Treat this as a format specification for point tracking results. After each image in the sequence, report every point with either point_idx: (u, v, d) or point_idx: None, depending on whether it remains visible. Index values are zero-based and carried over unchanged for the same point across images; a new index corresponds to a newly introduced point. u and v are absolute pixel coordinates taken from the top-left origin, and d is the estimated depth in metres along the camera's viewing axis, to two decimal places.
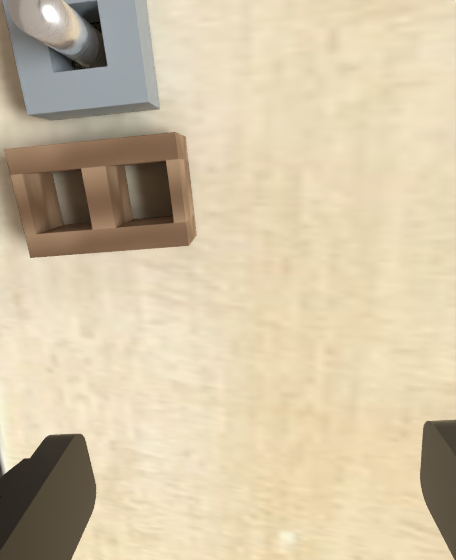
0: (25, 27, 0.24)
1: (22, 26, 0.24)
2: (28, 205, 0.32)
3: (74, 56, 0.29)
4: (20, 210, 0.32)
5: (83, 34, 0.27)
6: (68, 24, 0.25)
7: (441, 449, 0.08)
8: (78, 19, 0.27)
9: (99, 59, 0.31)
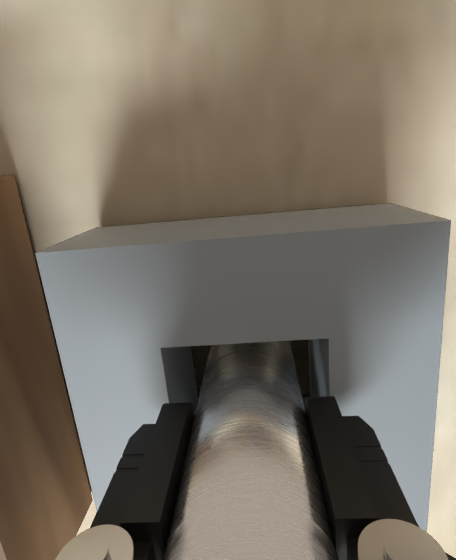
0: None
1: None
2: None
3: None
4: None
5: None
6: None
7: (309, 420, 0.09)
8: None
9: None
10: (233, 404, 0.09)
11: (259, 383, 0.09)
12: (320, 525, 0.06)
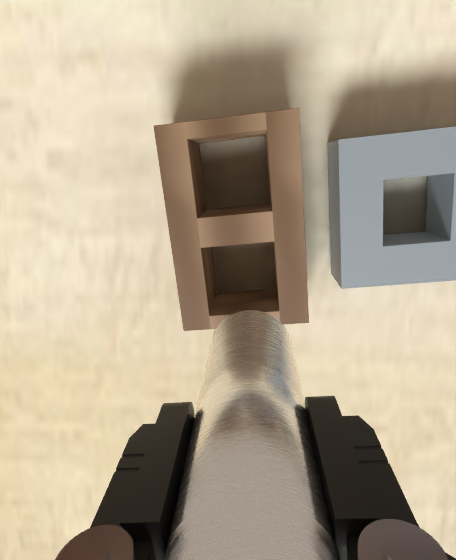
0: None
1: None
2: (224, 132, 0.24)
3: None
4: (218, 120, 0.24)
5: None
6: None
7: (309, 420, 0.09)
8: None
9: None
10: (234, 402, 0.09)
11: (260, 381, 0.09)
12: (321, 523, 0.06)
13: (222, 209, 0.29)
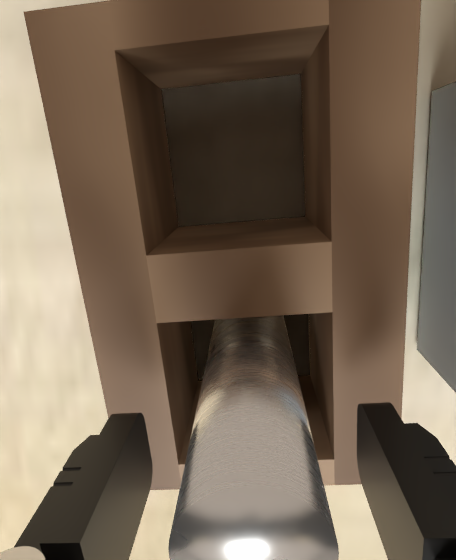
0: (189, 528, 0.07)
1: (193, 518, 0.07)
2: (215, 32, 0.09)
3: None
4: None
5: None
6: None
7: (367, 428, 0.09)
8: None
9: None
10: (236, 359, 0.11)
11: (258, 345, 0.11)
12: (305, 439, 0.08)
13: (209, 227, 0.14)
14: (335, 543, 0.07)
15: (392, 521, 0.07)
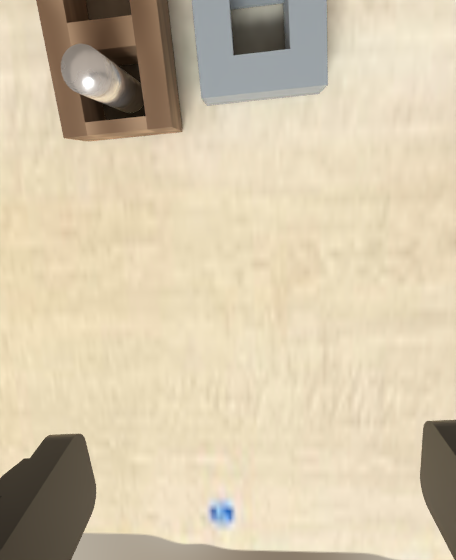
0: (65, 60, 0.25)
1: (66, 56, 0.25)
2: None
3: None
4: None
5: None
6: (89, 97, 0.27)
7: (441, 449, 0.08)
8: (109, 101, 0.29)
9: None
10: None
11: None
12: (108, 59, 0.27)
13: None
14: (103, 62, 0.25)
15: None
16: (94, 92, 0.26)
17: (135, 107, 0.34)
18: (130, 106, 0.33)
